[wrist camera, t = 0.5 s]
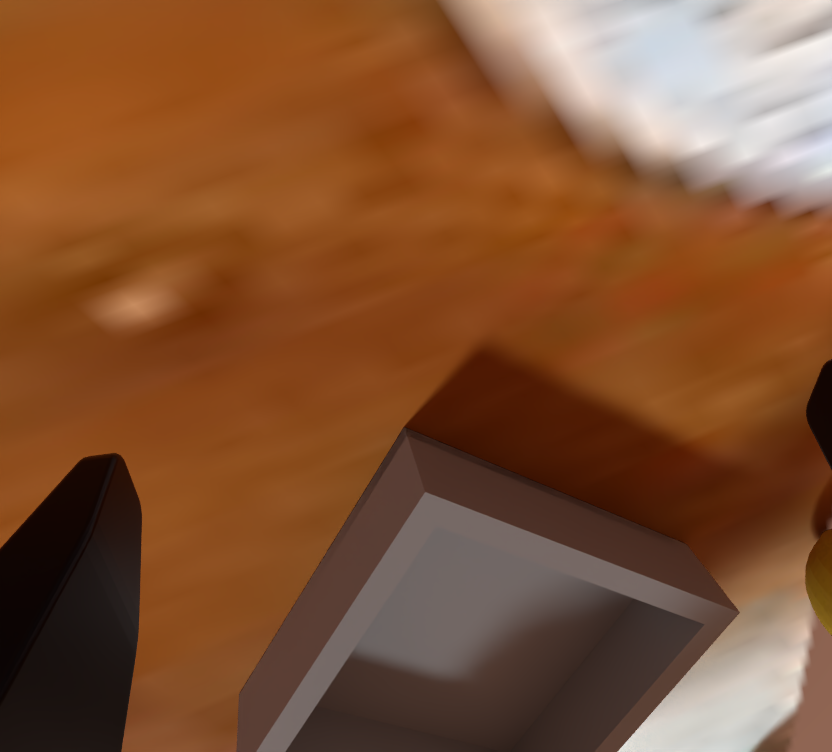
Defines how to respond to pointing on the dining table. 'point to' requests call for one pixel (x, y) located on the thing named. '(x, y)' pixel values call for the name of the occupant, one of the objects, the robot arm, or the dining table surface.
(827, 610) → the lemon
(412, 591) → the bin
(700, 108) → the dining table surface
